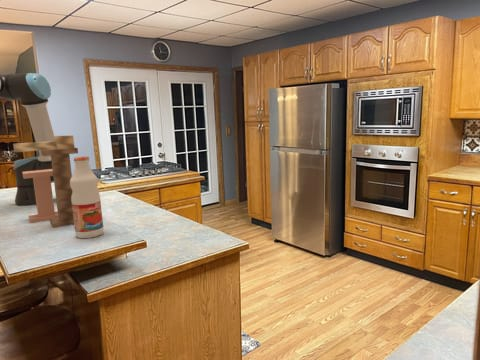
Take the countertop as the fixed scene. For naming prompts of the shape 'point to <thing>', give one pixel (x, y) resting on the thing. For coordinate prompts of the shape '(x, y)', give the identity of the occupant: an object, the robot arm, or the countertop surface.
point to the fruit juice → (85, 200)
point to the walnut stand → (62, 184)
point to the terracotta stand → (42, 195)
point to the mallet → (47, 144)
